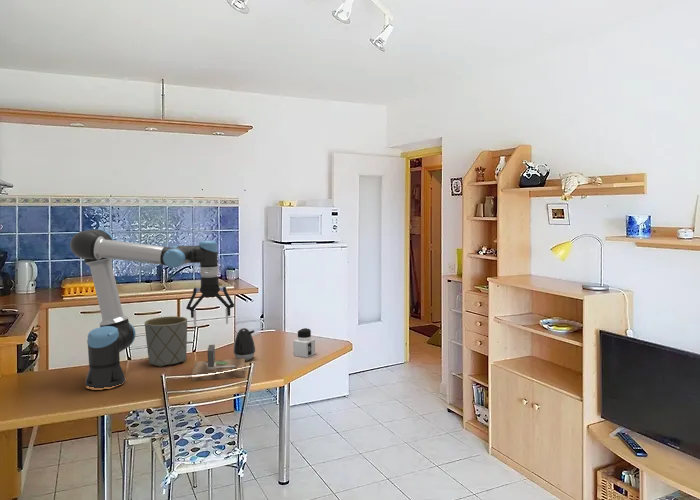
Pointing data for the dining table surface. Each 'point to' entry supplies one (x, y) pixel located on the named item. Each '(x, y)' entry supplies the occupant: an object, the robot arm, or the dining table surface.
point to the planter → (166, 340)
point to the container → (304, 343)
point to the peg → (213, 358)
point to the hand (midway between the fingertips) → (211, 324)
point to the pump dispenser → (244, 344)
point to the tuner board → (219, 369)
